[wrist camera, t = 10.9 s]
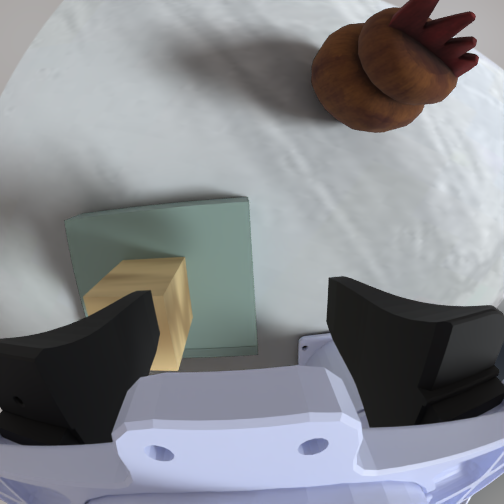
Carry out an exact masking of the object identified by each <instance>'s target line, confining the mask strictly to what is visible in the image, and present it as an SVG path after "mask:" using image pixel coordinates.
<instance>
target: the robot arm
mask: <svg viewBox="0 0 504 504" xmlns="http://www.w3.org/2000/svg"><path fill="white" fill-rule="evenodd" d="M326 322H327V325H328V328H329V331H330V333H327V334H319V335H310V336H303V337H301V338H300V339H299V344H298V365H294V366H284V367H275V368H264V369H251V370H236V371H216V372H165V373H160V374H155V375H150V376H148V374H149V371H150V369H151V366H152V363H153V360H154V358H155V355H156V352H157V347H158V342H159V337H160V330H159V326H158V321H157V317H156V312H155V308H154V303H153V298H152V293H151V290H142V291H135V292H132V293H130V294H128V295H126V296H124V297H122V298H121V299H119V300H117V301H115V302H114V303H112V304H110V305H108V306H107V307H105V308H103V309H101V310H99V311H97V312H95V313H93V314H92V315H90V316H88V317H86V318H84V319H81V320H79V321H77V322H74V323H72V324H69V325H67V326H64V327H60V328H57V329H54V330H51V331H47V332H44V333H39V334H35V335H29V336H24V337H15V338H4V339H0V407H1V409H2V412H1V413H0V499H1V500H2V501H4V502H6V503H7V504H467V503H468V501H469V500H470V498H471V496H472V495H474V494H475V493H476V492H478V491H479V490H481V489H482V488H484V487H485V486H487V485H488V484H489V483H491V482H492V481H494V480H495V479H496V478H498V477H499V476H500V475H502V474H503V473H504V380H503V381H502V382H501V381H500V380H499V379H498V378H497V377H496V376H498V374H499V369H498V368H497V367H496V366H495V365H494V364H495V361H496V359H497V356H498V354H499V351H500V349H501V346H502V344H503V341H504V315H503V313H502V312H501V311H499V310H498V309H496V308H495V307H494V306H491V305H486V306H445V305H436V304H429V303H423V302H418V301H414V300H410V299H406V298H402V297H399V296H395V295H393V294H390V293H387V292H384V291H381V290H379V289H376V288H374V287H371V286H369V285H366V284H364V283H361V282H359V281H356V280H354V279H351V278H348V277H344V276H342V277H331V278H329V285H328V304H327V320H326ZM303 346H307V347H306V348H302V347H303Z"/></svg>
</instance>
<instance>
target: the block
mask: <svg viewBox="0 0 504 504" xmlns="http://www.w3.org/2000/svg"><path fill="white" fill-rule="evenodd" d="M142 290H151V293H152V298H153V303H154V308H155V312H156V317H157V321H158V326H159V330H160V337H159V342H158V347H157V352H156V355H155V358H154V360H153V363H152V366H151V369H150V370H159V371H178V370H179V366H180V363H181V359H182V355H183V351H184V348H185V344H186V340H187V337H188V333H189V330H190V326H191V322H192V319H193V314H192V308H191V300H190V293H189V286H188V278H187V270H186V261H185V257H172V258H153V259H135V260H122V261H121V262H120V263H119V264H118V265H117V266H116V267H115V268H113V269H112V270H111V271H110V272H109V273H108V274H107V275H106V276H105V277H104V278H102V279H101V280H100V281H99V282H98V283H97V284H96V285H95V286H94V287H93V288H92V289H91V290H90V291H89V292H87V293H86V294H85V295H84V296H83V299H84V303H85V307H86V310H87V314H88V316H90V315H92V314H93V313H95V312H97V311H99V310H101V309H103V308H105V307H107V306H108V305H110V304H112V303H114V302H115V301H117V300H119V299H121V298H122V297H124V296H126V295H128V294H130V293H132V292H135V291H142Z"/></svg>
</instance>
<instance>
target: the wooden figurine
mask: <svg viewBox="0 0 504 504" xmlns="http://www.w3.org/2000/svg"><path fill="white" fill-rule="evenodd" d="M438 1H439V0H409V1H408V2H407V3H406V4H405V5H404V6H403V7H401V8H394V7H393V8H388V9H384V10H382V11H380V12H378V13H376V14H374V15H373V16H371V17H370V18H369V19H368V20H367V21H366V22H365V23H358V24H349V25H346V26H344V27H342V28H340V29H338V30H337V31H335V32H334V33H332V34H331V35H329V36H328V38H327V39H326V41H325V42H324V44H323V45H322V47H321V48H320V50H319V52H318V53H317V55H316V57H315V58H314V60H313V64H312V76H311V83H312V86H313V88H314V91H315V93H316V95H317V98H318V99H319V101H320V102H321V104H322V105H323V107H324V108H325V110H327V111H328V112H329V113H330V114H331V115H332V116H333V117H334V118H335V119H337V120H338V121H340V122H342V123H343V124H345V125H346V126H348V127H350V128H351V129H354V130H359V131H367V132H374V133H378V132H386V131H389V130H393V129H396V128H400V127H404V126H407V125H408V124H410V123H411V122H412V121H413V120H414V119H415V118H416V117H417V116H418V115H419V114H420V113H421V112H422V110H423V108H424V105H425V104H434V103H437V102H441V101H442V100H444V99H445V98H446V97H447V96H448V95H449V94H450V93H451V91H452V90H453V89H454V88H455V87H456V84H457V80H458V77H459V76H461V75H462V74H464V73H466V72H467V71H469V70H471V69H472V68H473V67H474V66H476V65H477V64H478V59H479V57H478V56H477V55H476V54H471V53H466V52H467V51H469V50H471V49H472V48H474V47H475V46H476V42H477V40H476V39H475V38H474V37H458V38H452V37H453V36H455V35H456V34H457V33H458V32H460V31H461V30H462V29H464V28H465V27H466V26H468V25H469V24H470V23H472V22H473V21H474V20H475V17H476V16H475V14H474V13H473V12H470V11H469V12H464V13H460V14H455V15H451V16H447V17H443V18H439V19H435V20H431V19H430V18H429V16H430V15H431V13H432V11H433V10H434V8H435V6H436V5H437V3H438Z"/></svg>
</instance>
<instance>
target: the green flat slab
mask: <svg viewBox="0 0 504 504" xmlns="http://www.w3.org/2000/svg"><path fill="white" fill-rule="evenodd" d="M64 222H65V229H66V234H67V240H68V245H69V251H70V256H71V260H72V265H73V270H74V274H75V278H76V282H77V286H78V290H79V294H80V298H81V302H82V305H83V309H84V312H85V316H86V317H88V314H87V310H86V307H85V303H84V299H83V296H84V295H85V294H86V293H87V292H89V291H90V290H91V289H92V288H93V287H94V286H95V285H96V284H97V283H98V282H99V281H100V280H101V279H102V278H104V277H105V276H106V275H107V274H108V273H109V272H110V271H111V270H112V269H113V268H115V267H116V266H117V265H118V264H119V263H120V262H121V261H122V260H135V259H153V258H172V257H185V261H186V270H187V278H188V286H189V293H190V300H191V308H192V314H193V319H192V322H191V326H190V330H189V333H188V337H187V340H186V344H185V348H184V351H183V355H182V358H202V357H228V356H246V355H258V346H257V329H256V312H255V295H254V278H253V261H252V244H251V227H250V210H249V200H248V197H238V198H224V199H211V200H199V201H187V202H176V203H166V204H156V205H147V206H138V207H129V208H121V209H113V210H105V211H98V212H90V213H83V214H80V215H77V216H74V217H72V218H69V219H67V220H64Z"/></svg>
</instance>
